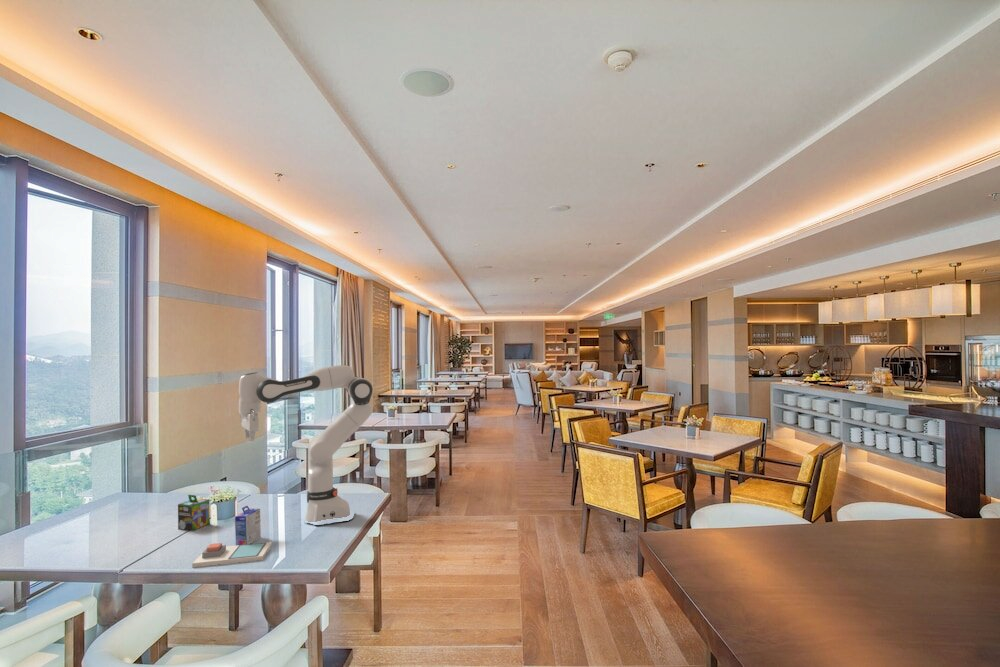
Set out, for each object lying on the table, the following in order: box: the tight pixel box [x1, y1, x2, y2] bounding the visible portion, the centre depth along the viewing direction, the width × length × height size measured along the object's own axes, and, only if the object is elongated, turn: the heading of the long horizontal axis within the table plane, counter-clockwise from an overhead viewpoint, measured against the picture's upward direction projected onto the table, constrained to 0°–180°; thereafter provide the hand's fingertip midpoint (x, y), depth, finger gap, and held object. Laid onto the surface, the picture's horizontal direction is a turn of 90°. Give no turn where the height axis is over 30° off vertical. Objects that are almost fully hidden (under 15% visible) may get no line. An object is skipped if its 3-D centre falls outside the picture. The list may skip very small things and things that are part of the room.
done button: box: [206, 542, 223, 552], centre depth 183 cm, size 4×4×2 cm
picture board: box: [191, 541, 273, 568], centre depth 185 cm, size 24×14×4 cm, turn 103°
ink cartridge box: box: [234, 505, 262, 546], centre depth 199 cm, size 10×6×14 cm, turn 174°
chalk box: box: [177, 494, 211, 532], centre depth 218 cm, size 9×9×15 cm
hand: (249, 439), depth 214 cm, fingers open, 8 cm apart
